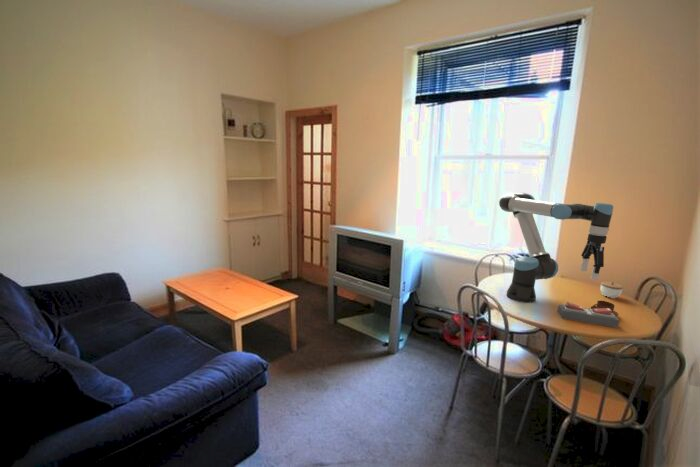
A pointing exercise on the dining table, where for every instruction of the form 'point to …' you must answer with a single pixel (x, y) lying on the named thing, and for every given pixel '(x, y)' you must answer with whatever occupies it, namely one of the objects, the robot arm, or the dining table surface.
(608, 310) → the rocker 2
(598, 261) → the robot arm
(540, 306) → the dining table surface
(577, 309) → the rocker
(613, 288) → the lidded jar
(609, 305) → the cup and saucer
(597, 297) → the dining table surface
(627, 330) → the dining table surface
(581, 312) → the power strip
